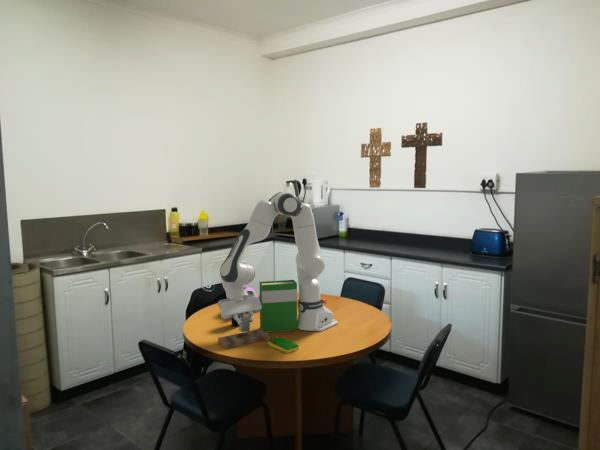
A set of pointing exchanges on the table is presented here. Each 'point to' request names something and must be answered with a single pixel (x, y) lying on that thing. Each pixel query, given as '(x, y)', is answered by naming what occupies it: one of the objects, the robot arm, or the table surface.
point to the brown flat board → (243, 338)
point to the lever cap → (245, 323)
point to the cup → (234, 322)
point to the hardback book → (278, 305)
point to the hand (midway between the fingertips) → (246, 322)
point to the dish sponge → (283, 344)
